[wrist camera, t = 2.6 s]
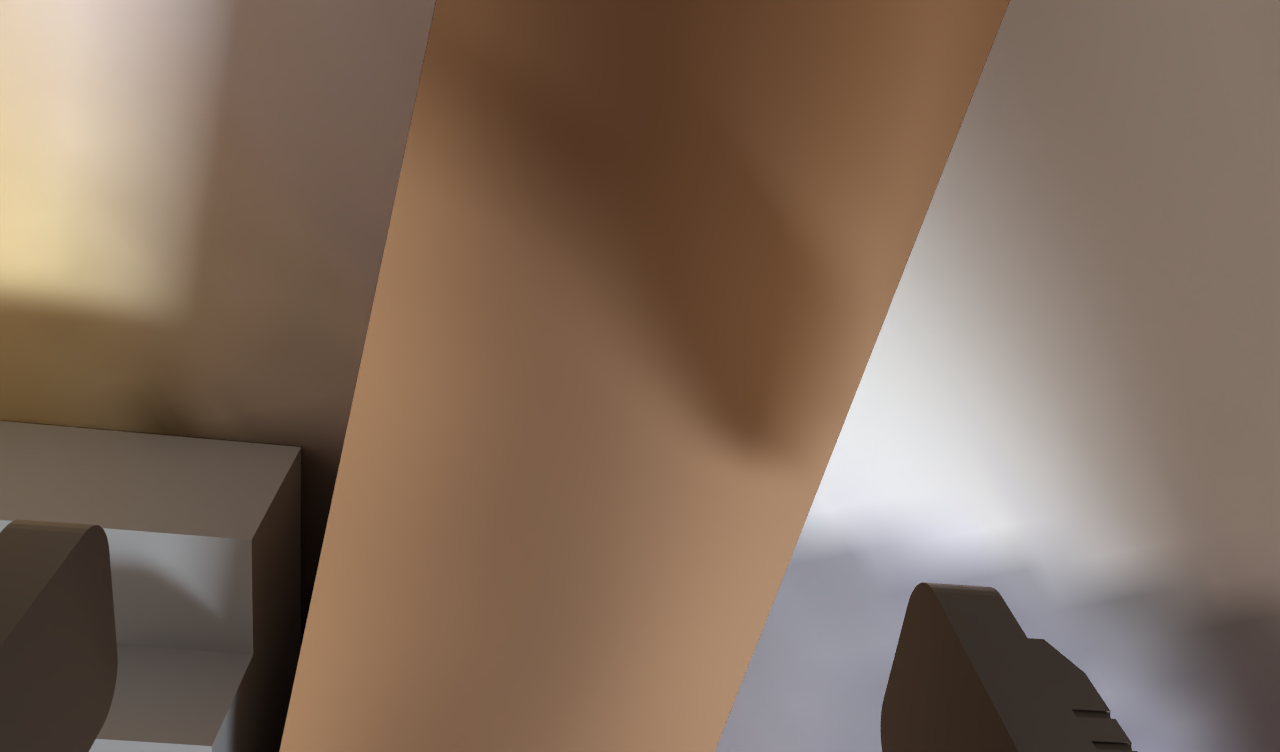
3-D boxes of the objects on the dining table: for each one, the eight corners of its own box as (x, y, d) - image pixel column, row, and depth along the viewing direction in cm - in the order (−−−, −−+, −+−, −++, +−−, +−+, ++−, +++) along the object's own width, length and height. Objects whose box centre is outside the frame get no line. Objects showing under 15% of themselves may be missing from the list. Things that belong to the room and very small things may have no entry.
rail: (954, -242, 15) (1133, -314, 10) (582, 827, 23) (578, 1097, 18) (563, -377, 15) (546, -531, 10) (306, 775, 22) (218, 1042, 17)
